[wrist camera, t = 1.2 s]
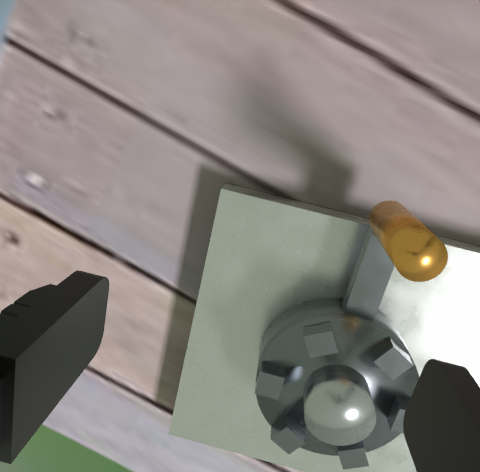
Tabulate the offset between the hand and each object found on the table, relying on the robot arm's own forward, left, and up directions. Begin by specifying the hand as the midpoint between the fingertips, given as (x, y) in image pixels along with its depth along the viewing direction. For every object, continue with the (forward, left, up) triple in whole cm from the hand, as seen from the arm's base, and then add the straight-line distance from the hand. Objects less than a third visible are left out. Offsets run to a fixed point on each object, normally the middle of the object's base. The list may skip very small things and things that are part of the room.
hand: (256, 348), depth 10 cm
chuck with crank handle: (+8, +7, -18) cm, 21 cm away
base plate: (+12, +7, -21) cm, 25 cm away
